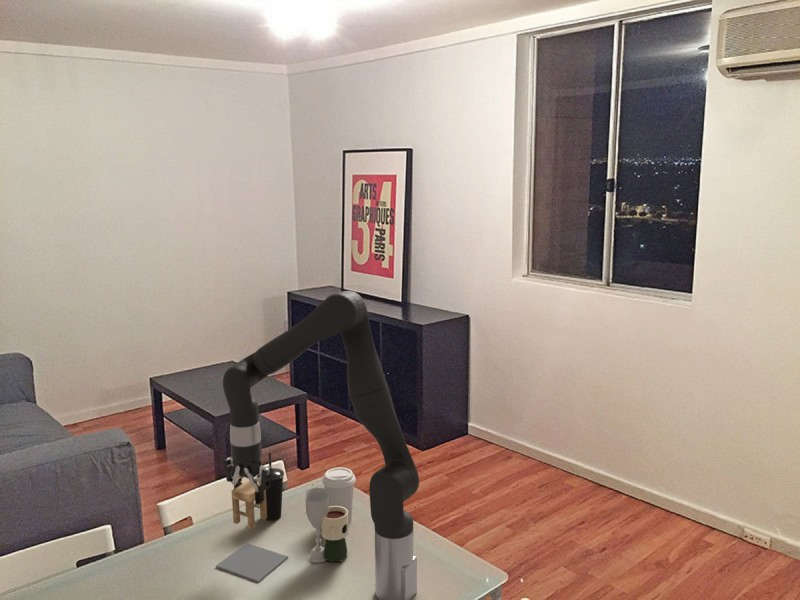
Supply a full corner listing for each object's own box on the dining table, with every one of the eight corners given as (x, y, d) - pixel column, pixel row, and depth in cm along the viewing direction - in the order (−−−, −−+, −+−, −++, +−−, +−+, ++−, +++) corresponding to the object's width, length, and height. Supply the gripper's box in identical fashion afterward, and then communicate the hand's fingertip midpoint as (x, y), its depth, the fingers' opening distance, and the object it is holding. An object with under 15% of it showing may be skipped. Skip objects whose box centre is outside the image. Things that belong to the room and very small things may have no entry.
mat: (288, 558, 182) (288, 556, 182) (258, 582, 171) (258, 580, 171) (246, 544, 188) (246, 542, 188) (216, 567, 178) (215, 565, 178)
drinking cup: (256, 513, 204) (253, 450, 200) (281, 508, 207) (279, 446, 203) (263, 525, 197) (259, 461, 193) (289, 520, 201) (286, 456, 196)
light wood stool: (267, 517, 178) (265, 485, 176) (251, 528, 173) (250, 495, 171) (249, 512, 181) (247, 480, 179) (233, 522, 176) (231, 490, 174)
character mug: (346, 569, 176) (345, 523, 174) (319, 569, 177) (317, 523, 174) (351, 545, 187) (350, 502, 184) (325, 545, 187) (324, 501, 185)
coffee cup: (318, 527, 197) (316, 478, 193) (331, 510, 205) (329, 464, 202) (349, 532, 194) (348, 483, 191) (361, 515, 203) (360, 468, 200)
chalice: (326, 566, 178) (324, 502, 174) (301, 563, 179) (299, 499, 176) (335, 550, 185) (333, 489, 181) (311, 547, 186) (309, 486, 183)
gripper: (278, 439, 172) (280, 500, 176) (233, 428, 179) (237, 488, 183) (258, 450, 166) (261, 514, 169) (213, 439, 173) (217, 500, 176)
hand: (249, 500), depth 176 cm, fingers closed on light wood stool, 6 cm apart
